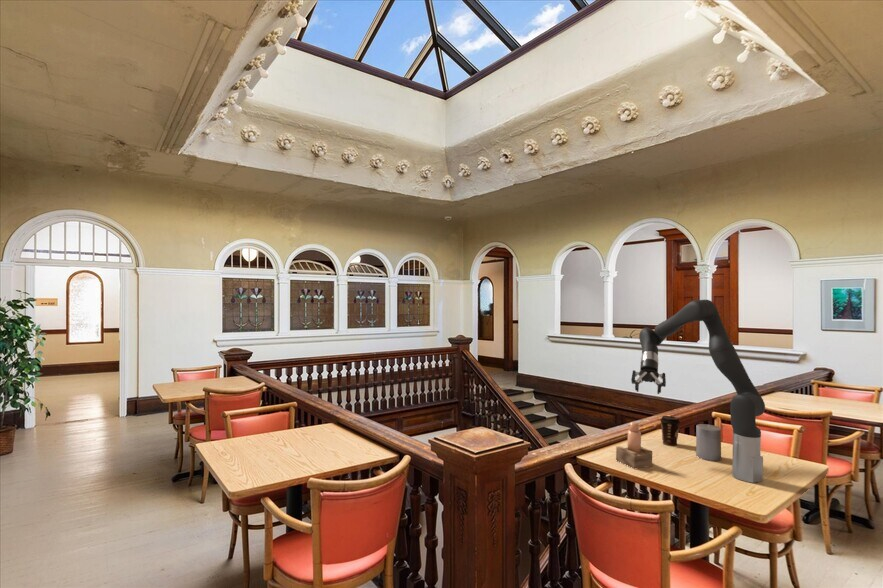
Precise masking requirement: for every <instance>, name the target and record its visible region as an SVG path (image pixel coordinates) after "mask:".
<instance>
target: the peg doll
mask: <svg viewBox="0 0 883 588" xmlns="http://www.w3.org/2000/svg"><path fill="white" fill-rule="evenodd" d="M639 426H640V425H639V423H638V422H636V421H630V423H629V429H628V430H627V448H628V450H630V451H633V452H635V453H641V447H642V432H641V431H640V430H639V428H640V427H639Z"/></svg>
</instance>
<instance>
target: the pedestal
mask: <svg viewBox="0 0 883 588" xmlns="http://www.w3.org/2000/svg"><path fill="white" fill-rule="evenodd" d="M615 452H616V453H615V455H616V456H615V457H616V458H615V461H616V460H617V461H616V462H618V461H619V462H618V463H620V462H621V463H620V464H622V463H623V464H622V465H624V464H626V465H625V466H627V465H628V466H627V467H629V466H630V468H631V467H632V468H631V469H633V468H637V469H641V467H643V468H647V467H646V466H649V467H652V466H653V450H650V449H648V448H646V447H642V446H641V453H635V452H633V451H630V450H628V447H622V446H620V445H617V446H616V449H615Z"/></svg>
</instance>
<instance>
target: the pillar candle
mask: <svg viewBox="0 0 883 588" xmlns="http://www.w3.org/2000/svg"><path fill="white" fill-rule="evenodd" d="M695 428H696V429H695V430H696V432H695V435H696V436H695V439H696V440H695V441H696V442H695V445H696V446H695V450H696V451H695V453H696V454H695V456H696V457H697V456H698V457H699V459H700V458H702V459H701V460H704V459H706V460H705V461H709V460H711V462H718V460H719V461H722V427H720V426H717V425H713V424H705V423H699V424H696V427H695ZM698 457H697V458H698Z"/></svg>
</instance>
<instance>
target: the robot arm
mask: <svg viewBox="0 0 883 588" xmlns="http://www.w3.org/2000/svg"><path fill="white" fill-rule="evenodd" d="M693 322H703V323H704V325H705V328H706V329H707V332H708V338H709V339H708V351H709V355H710V356H711V357H710V358H711V359H712V361H713V363H714V365H715V366H716V368H717V370H719V371H720V373H721V374H723V376H724V377H725V378H726V379H727V380H728V381H729V382H730V383H731V385H732V386H733V388H734V390H735V392H736V395H735V396H734V395H733V397H732V399H731V401H730V405H729V406H730V408H729V410H730V425H731V427H732V459H731V460H732V463H731V464H732V469H731V470H732V471H731V473H732V474H731V476H732V477H734V479H737V480H740V481H743V482H746V483H747V482H748V483H752V484H754V483H760V482H763V481H764V479H763V476H764V457H763V456H762V455H761V449H762V447H761V446H762V445H761V444H762V441H761V440H762V438H761V437H762V431H761V429H760V428H759V427H757V424H756V422H757V421H756V417H760V416H762V415H763V414H764V413H765V411H766V405H765V401H764V399H763V398H762V395H761V394H760V393H759V391H758V389H757V388H756V386H755V385H754V384H753V382H752V380H751V378H750V377H749V375H748V372H747V371H746V368H745V366H744V365H743V363H742V361H741V359H740V357H739V354H738V352H737V350H736V348H735V346H734V345H733V343H732V341H731V339H730V336H729V334H728V333H727V331H726V328H725V327H724V323H723V321H722V319H721V316H720V313H719V311H718V308H717V306H716V304H715V303H714V302H713V301H712V300H710V299H695V300H691V301H690V302H688V303H687V304H686V305H684V306H683V307H682V308H681V309H680V310H678V311H677V312H676V313H675V314H674V315H671V316H670V317H669V318H667V319H666V320H663V321H661V322H660V323H659V324H657V325H655V326H654V329H652V328H650V327H647V326H646V327H643V328H642V329H641V330H640V331H639V336H638V337H639V342H640V345H641V358H640V365H639V366H640V369H639V372H638V371H636V370H634V369H633V370H632V373H631V379H630V381H631V384H632V385H634V389H635V391H636V392H639V387H640V384H642V383H644V382H645V383H654V384H655V385H656V386H657V395H659V394H661V393H662V387H666V386H667V385H666V384H667V383H666V382H667V381H666V373H665V372H662V373H659V346H660V345H661V344H662V343H663V341H665V340H666V339H667V338H668V337H669V336H672V335H674V334H676V333H677V332H678V331H679V330H680V329H681V328H682V327H683V326H685V325H687V324H689V323H693ZM638 376H639V377H638ZM637 377H638V378H637ZM659 378H660V379H661V380H662V381H660V380H659Z"/></svg>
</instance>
